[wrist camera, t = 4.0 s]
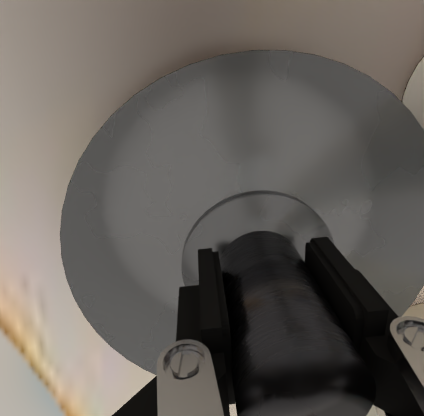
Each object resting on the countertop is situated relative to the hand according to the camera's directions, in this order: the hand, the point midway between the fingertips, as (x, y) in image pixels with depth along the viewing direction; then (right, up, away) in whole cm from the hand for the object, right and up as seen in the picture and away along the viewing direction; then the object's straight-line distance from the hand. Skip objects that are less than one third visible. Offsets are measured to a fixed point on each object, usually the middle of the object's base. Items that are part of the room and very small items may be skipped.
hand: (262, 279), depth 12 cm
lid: (0, +1, +2) cm, 2 cm away
